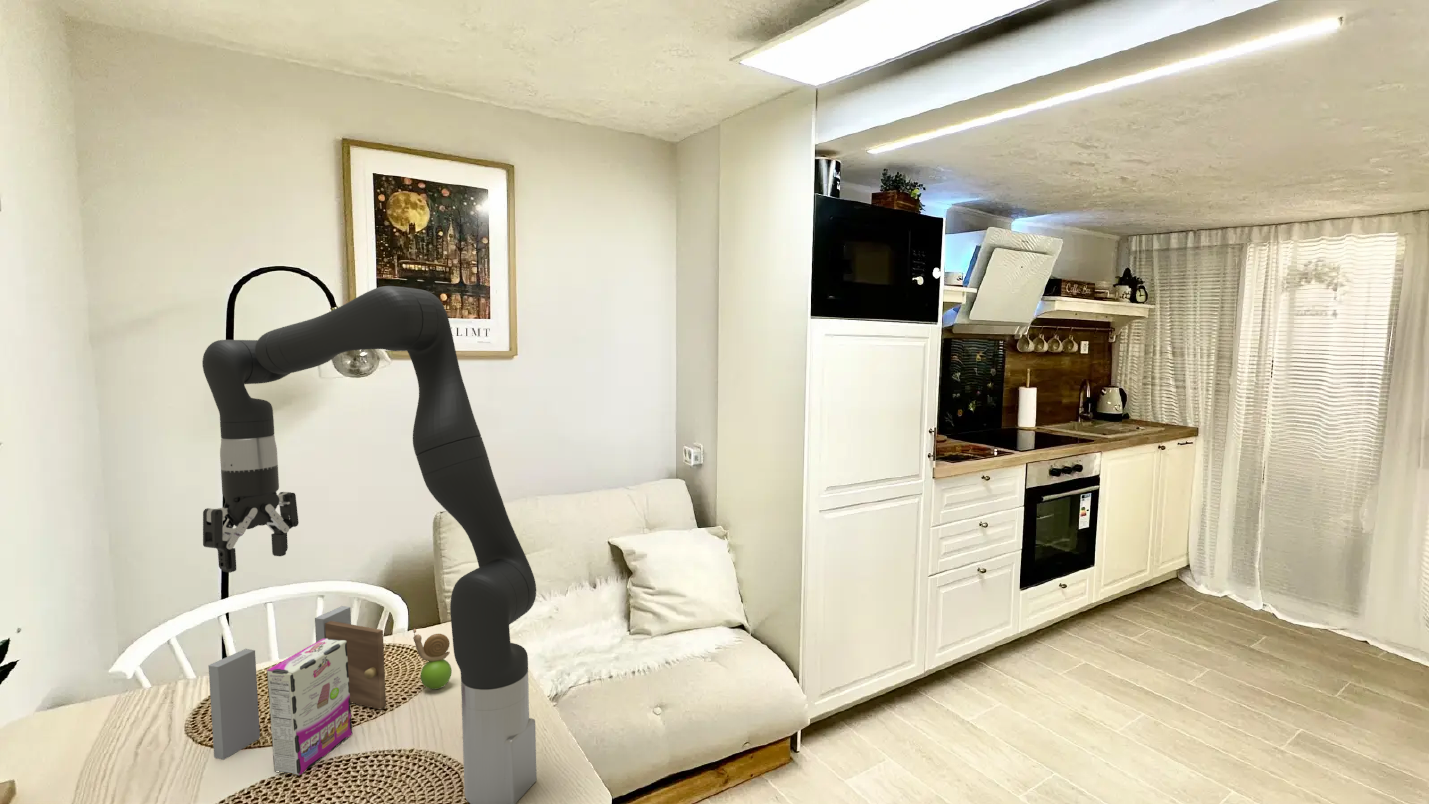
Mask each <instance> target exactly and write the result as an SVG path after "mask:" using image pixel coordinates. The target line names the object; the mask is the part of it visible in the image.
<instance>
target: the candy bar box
mask: <svg viewBox="0 0 1429 804" xmlns="http://www.w3.org/2000/svg"><path fill="white" fill-rule="evenodd" d="M266 679H267V688H268V692H267V694H268V706H269V716H270V718H269V719H270V732H271V744H272V745H271V746H272V756H273V757H272V759H273V771H274V772H276V771H279V772H284V773H283V774H286V773H292V774H291V775H293V774H296V775H295V776H300V775H303V774H304V773H305V772H306V771H307V770H306V769H308V768H309V769H310V768H311V767H312V766H314V765H315V764H316V763H319V761H320V760H322V759H323V758H324V757H326V756H327V755H328V754H329V753H330V752H332V751H333V750H334V749H335V748H337V747H339V746H340V745H341V744H342V743H343V742H344V741H346V740H347V739H348V738H350V737H351V736H352V735H353V725H352V708H351V702H350V691H349V674H348V658H347V641H345V640H336V639H329V638H325V639H321V640H319V641H318V642H316V641H315V642H314V643H312V644H311V645H308V646H307V647H305V648H303V649H302V650H299V651H297V653H295V654H293V655H291V656H289V657H287V658H286V659H284V660H283V661H280V662H279V663H277V664H275V665H274V666H272V667H270V668H268V669H266ZM309 769H308V770H309ZM305 770H306V771H305ZM304 771H305V772H304ZM279 772H278V773H279ZM303 772H304V773H303ZM276 773H277V772H276Z"/></svg>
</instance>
